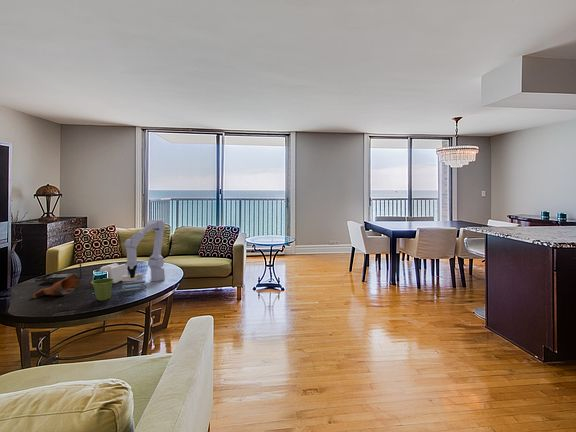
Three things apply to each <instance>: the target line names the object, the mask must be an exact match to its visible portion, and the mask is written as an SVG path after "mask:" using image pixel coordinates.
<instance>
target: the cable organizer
mask: <svg viewBox="0 0 576 432" xmlns="http://www.w3.org/2000/svg"><path fill="white" fill-rule="evenodd" d="M125 264H126V263H123V264H119V263H118V262H117V263H111V264H108V265H104V266H101V267H100V268H99V273H100V272H102V271H107V272H108V278H112V279H114V280H113V284H116V283H119V282H123V281H122V276H123V275H129V271H128V269H127V268H128V265H125Z"/></svg>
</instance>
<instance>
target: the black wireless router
mask: <svg viewBox="0 0 576 432" xmlns="http://www.w3.org/2000/svg"><path fill="white" fill-rule="evenodd" d="M72 274H75V275H76V276H77V277H78V278H79V279H80V280H82V279H83V273H82V262H81V256H79V276H78V273H75V272H74V273H56V274H55V273H53V274H51V275H49V276H47V277H46V278H44V281H45V284H55V283H57V282H59V281H62V280H63V279H65V278H66V277H68V276H69V275H72Z"/></svg>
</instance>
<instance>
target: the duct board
mask: <svg viewBox="0 0 576 432" xmlns="http://www.w3.org/2000/svg"><path fill="white" fill-rule="evenodd" d="M145 287H146V280H136V281H127V282H122V286H121V289H120V293H127V292H136V291H144V290H145Z"/></svg>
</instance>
